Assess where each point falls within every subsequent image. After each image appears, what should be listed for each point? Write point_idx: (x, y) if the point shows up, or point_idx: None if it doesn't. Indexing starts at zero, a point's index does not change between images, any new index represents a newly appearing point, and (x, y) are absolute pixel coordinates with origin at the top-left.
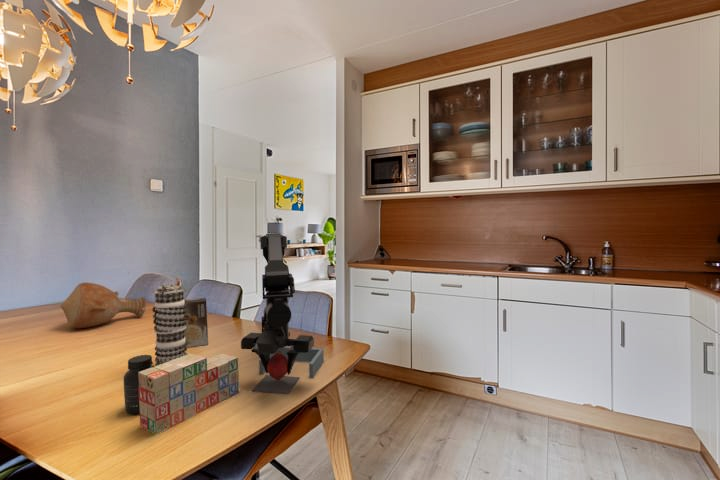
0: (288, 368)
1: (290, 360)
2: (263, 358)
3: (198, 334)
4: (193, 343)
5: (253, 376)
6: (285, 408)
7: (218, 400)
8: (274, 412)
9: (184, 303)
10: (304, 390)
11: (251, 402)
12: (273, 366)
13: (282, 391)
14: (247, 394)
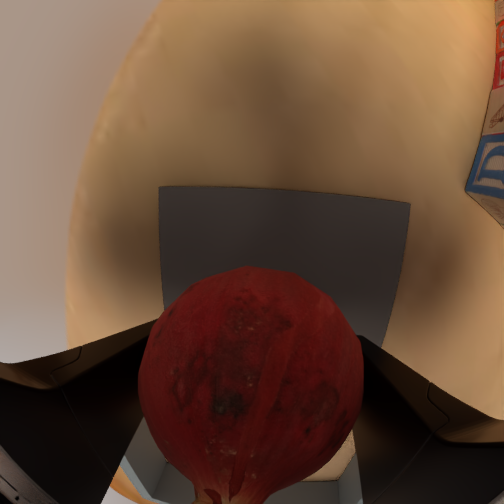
0: (137, 335)
1: (60, 363)
2: (430, 411)
3: None
4: None
5: (425, 369)
6: (140, 50)
7: (497, 87)
8: (182, 10)
9: None
10: (102, 241)
11: (351, 70)
12: (263, 312)
13: (198, 194)
14: (415, 163)
